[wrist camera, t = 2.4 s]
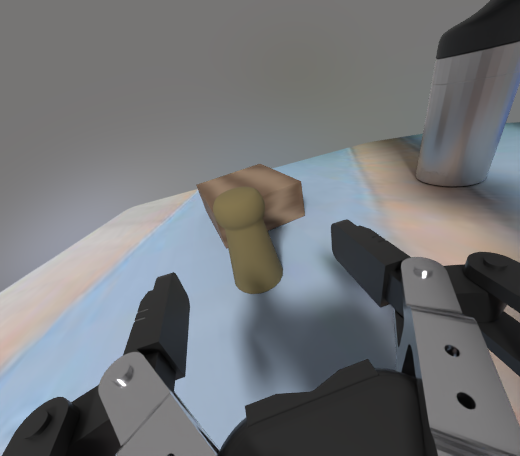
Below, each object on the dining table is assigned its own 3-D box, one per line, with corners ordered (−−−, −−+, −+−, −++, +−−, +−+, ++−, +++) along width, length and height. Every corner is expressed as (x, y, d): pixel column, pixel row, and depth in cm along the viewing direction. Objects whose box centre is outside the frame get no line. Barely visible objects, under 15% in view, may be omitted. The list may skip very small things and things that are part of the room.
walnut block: (265, 189, 49) (260, 163, 46) (304, 215, 36) (301, 181, 33) (206, 211, 46) (196, 184, 43) (226, 248, 33) (213, 214, 29)
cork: (235, 262, 29) (209, 187, 24) (279, 254, 29) (263, 175, 23) (233, 298, 24) (198, 212, 18) (286, 288, 24) (268, 197, 18)
